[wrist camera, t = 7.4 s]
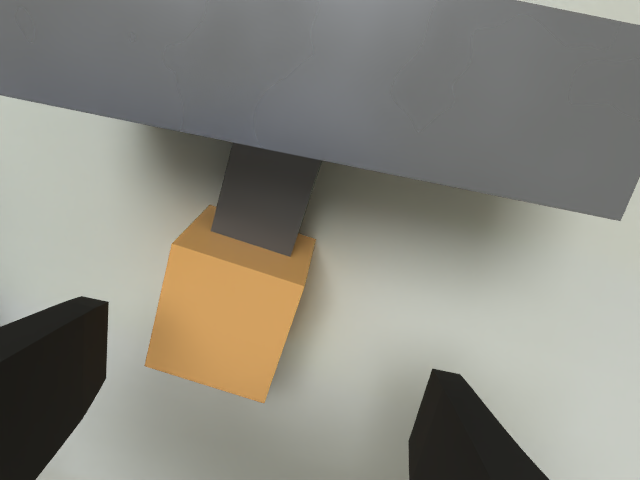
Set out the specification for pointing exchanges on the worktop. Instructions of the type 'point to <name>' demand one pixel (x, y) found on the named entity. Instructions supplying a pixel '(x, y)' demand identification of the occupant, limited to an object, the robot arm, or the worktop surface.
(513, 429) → the worktop surface
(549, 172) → the bracket
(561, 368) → the worktop surface
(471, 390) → the robot arm
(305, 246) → the plug
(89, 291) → the worktop surface
